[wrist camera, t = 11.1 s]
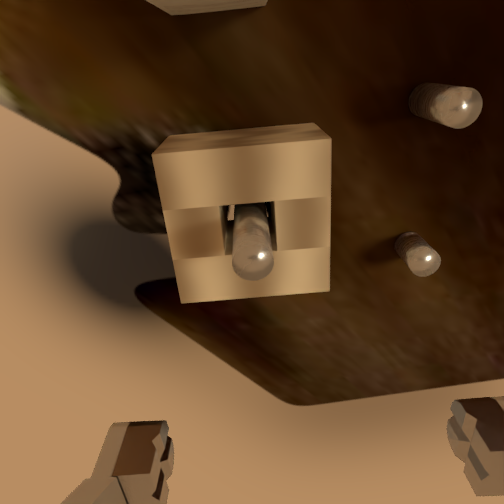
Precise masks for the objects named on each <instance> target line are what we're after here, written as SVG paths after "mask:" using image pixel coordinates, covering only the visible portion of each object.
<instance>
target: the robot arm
mask: <svg viewBox="0 0 504 504" xmlns="http://www.w3.org/2000/svg"><path fill="white" fill-rule="evenodd" d="M451 411H452V413H453V416H452V417H451V418H450V419H449V420H448V424H447V434H448V440H449V443H450V445H451V448H452V450H453V452H454V454H455V456H457V457H458V458H459V459H460V460H462V461H463V462H464V463H465V467H464V473H465V475H466V477H467V479H468V481H469V483H470V485H471V486H472V488H473V490H474V492H475V494H476V496H497V495H498V496H499V495H504V396H502V397H491V398H490V397H484V398H471V399H459V400H454V401H453V402H452V405H451ZM168 430H169V427H168V424H167V421H165V420H163V421H140V422H121V423H113V424H112V425H111V427H110V428H109V431H108V433H107V436H106V438H105V441H104V444H103V446H102V449H101V452H100V454H99V457H98V460H97V463H96V465H95V468H94V471H93V473H92V476H91V478H90V479H85V480H84V481H83V482H82V483H81V484H80V485H79V486H78V487H77V488H76V489H75V490H74V491H73V492H72V493H71V494H70V495H69V496H68V497H67V498H66V499H65V500H64V501H63V502H62V503H61V504H166V503H167V497H168V492H169V489H168V486H167V482H166V480H167V479H168V478H169V477H170V476H171V474H172V470H173V464H174V448H173V442H172V439H171V438H170V437H169V436H167V435H168Z"/></svg>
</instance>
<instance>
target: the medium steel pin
mask: <svg viewBox="0 0 504 504" xmlns="http://www.w3.org/2000/svg"><path fill="white" fill-rule="evenodd" d="M408 106H409V109H410V111H411V112H412V113H413V114H414V115H415V116H418V117H421V118H424V119H427V120H430V121H433V122H437V123H440V124H443V125H446V126H449V127H452V128H456V129H460V128H464V127H467V126H469V125H470V124H472V123H473V122H474V121H475V120H476V119H477V118H478V116H479V114H480V112H481V110H482V97H481V95H480V93H479V92H478V91H477V90H475V89H473V88H469V87H461V86H453V85H445V84H437V83H429V82H426V83H422V84H420V85H418V86H417V87H415V88H414V90H413V91H412V92H411V94H410V96H409V100H408Z"/></svg>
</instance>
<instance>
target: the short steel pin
mask: <svg viewBox="0 0 504 504" xmlns="http://www.w3.org/2000/svg"><path fill="white" fill-rule="evenodd" d="M394 248H395V251H396V252H397V253H398V255H399V256H400V257H401V258H402V260H403V261H404V262H405V263H406V265H407V266H408V267H409V268H410V270H411V271H412V272H413V273H414V274H415V275H417V276H422V277H423V276H428V275H431V274H433V273H434V272H435V271H436V270H437V269H438V268H439V266H440V263H441V258H440V256H439V254H438V253H437V252H436V251H435V250H434V249H433V248H432V247H431V246H430V245H429V244H428V243H427V242H426V241H425V240H424V239H423V238H422V237H421V236H420V235H419V234H417V233H416V232H411V231H410V232H405V233H403V234H401V235H400V236H399V237H398V238H397V239H396V241H395V244H394Z"/></svg>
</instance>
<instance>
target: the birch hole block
mask: <svg viewBox="0 0 504 504" xmlns="http://www.w3.org/2000/svg"><path fill="white" fill-rule="evenodd" d="M331 140H332V139H331V138H330V137H329V136H328V135H327V134H326V133H325V132H324V131H322V130H321V129H320V128H319V127H318V126H317V125H316V124H315V123H304V124H292V125H281V126H270V127H259V128H247V129H236V130H225V131H213V132H202V133H191V134H180V135H169V136H168V137H167V138H166V139H165V140H164V142H163V143H162V144H161V145H160V146H159V147H158V148H157V149H156V150H155V151H154V152H153V153H152V159H153V164H154V169H155V174H156V179H157V184H158V189H159V194H160V199H161V204H162V209H163V214H164V219H165V224H166V229H167V234H168V239H169V244H170V249H171V254H172V259H173V265H174V270H175V275H176V280H177V285H178V290H179V295H180V300H181V303H192V302H204V301H216V300H228V299H241V298H253V297H265V296H277V295H289V294H301V293H313V292H325V291H330V220H331ZM269 201H270V209H271V217H267V220H268V226H269V233H270V239H271V246H272V252H273V258H274V266H273V269H272V271H271V272H270V274H269V275H267V276H266V277H265V278H263V279H260V280H257V281H249V280H245V279H243V278H241V277H239V276H238V275H237V274H236V273H235V271H234V269H233V267H232V252H233V230H234V220H229V221H228V219H227V210H226V205H234V204H246V203H257V202H269Z"/></svg>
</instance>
